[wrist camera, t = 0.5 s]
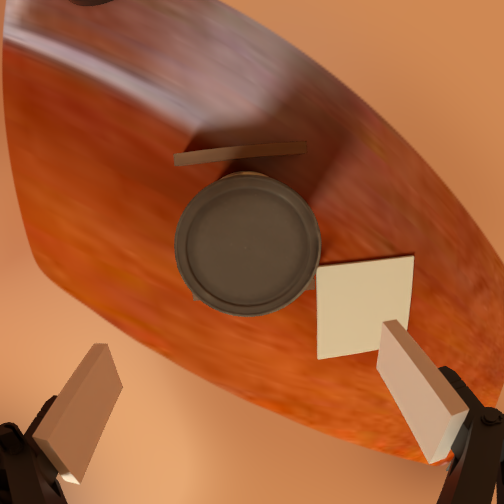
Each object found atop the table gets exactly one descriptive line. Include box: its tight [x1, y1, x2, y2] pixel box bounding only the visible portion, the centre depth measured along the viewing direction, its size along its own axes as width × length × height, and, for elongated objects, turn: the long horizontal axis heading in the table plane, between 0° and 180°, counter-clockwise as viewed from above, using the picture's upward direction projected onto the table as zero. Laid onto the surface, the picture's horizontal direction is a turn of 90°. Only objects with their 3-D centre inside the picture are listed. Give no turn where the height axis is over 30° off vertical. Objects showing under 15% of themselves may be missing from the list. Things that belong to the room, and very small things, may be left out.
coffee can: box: [174, 171, 321, 317], centre depth 29 cm, size 10×10×14 cm
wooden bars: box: [173, 141, 315, 301], centre depth 34 cm, size 15×13×4 cm
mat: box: [316, 255, 414, 359], centre depth 39 cm, size 13×13×1 cm
